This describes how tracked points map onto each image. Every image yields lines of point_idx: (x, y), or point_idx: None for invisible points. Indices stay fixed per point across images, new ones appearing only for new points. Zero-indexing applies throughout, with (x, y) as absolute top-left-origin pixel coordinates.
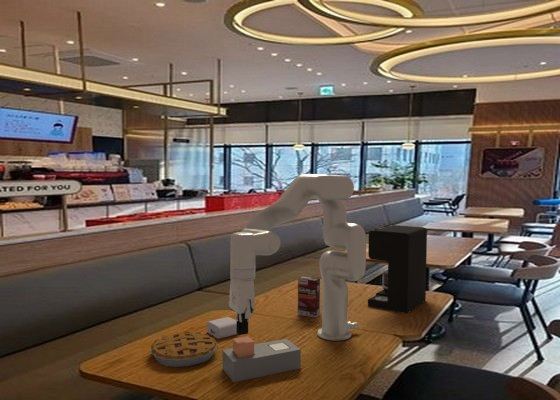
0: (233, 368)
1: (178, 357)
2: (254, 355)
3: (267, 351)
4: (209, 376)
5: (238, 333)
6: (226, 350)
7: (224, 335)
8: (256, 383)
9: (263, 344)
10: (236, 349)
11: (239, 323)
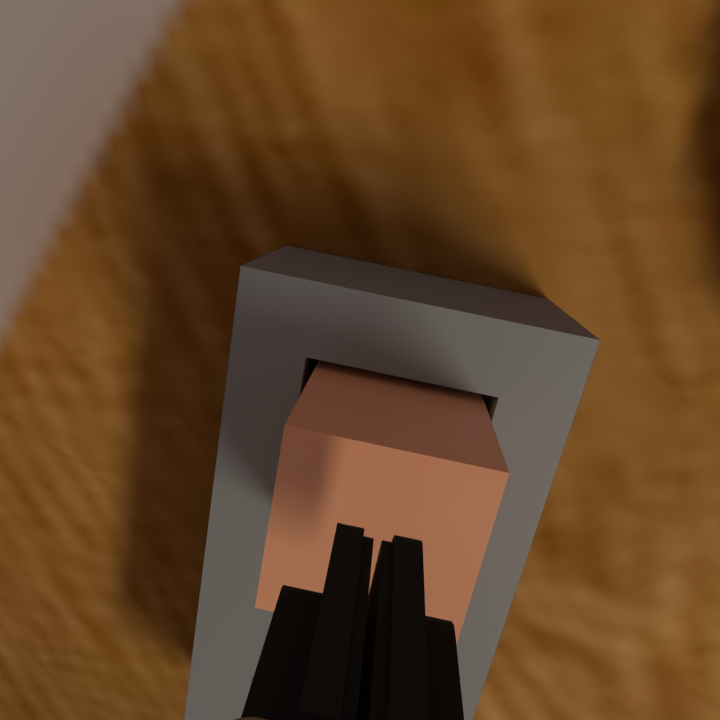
0: (260, 258)
1: None
2: (268, 506)
3: None
4: (499, 136)
5: (335, 534)
6: (555, 366)
7: None
8: (185, 368)
9: None
10: (369, 404)
11: (303, 698)
